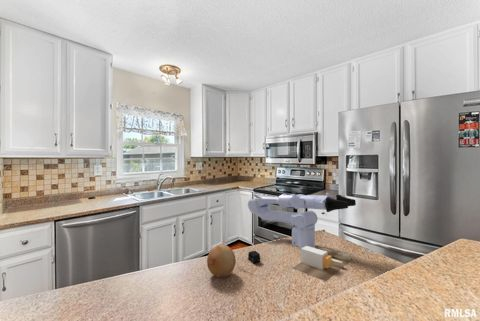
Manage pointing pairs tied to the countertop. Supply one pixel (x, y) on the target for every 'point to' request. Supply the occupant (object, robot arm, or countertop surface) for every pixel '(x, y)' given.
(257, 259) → the black chunky block
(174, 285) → the countertop surface
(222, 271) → the onion
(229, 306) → the countertop surface
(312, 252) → the white tall block
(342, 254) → the board
